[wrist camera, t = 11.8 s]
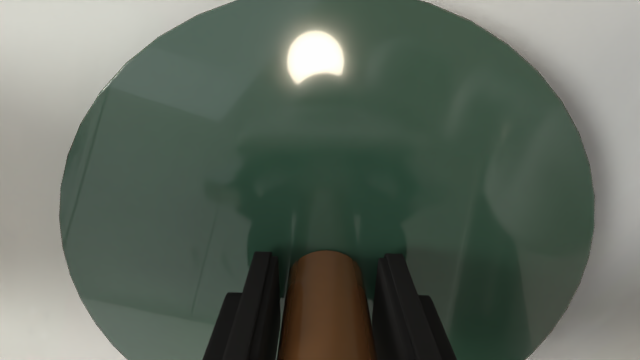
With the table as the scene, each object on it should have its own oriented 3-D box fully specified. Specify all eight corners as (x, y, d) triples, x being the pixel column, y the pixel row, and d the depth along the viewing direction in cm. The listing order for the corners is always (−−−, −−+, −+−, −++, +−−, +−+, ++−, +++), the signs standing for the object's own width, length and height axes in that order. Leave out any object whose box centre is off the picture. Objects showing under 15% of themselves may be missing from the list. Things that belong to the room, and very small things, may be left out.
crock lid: (658, -2, 9) (1228, -59, 3) (501, 409, 16) (599, 613, 10) (6, -15, 9) (-539, -96, 3) (138, 404, 16) (39, 606, 10)
